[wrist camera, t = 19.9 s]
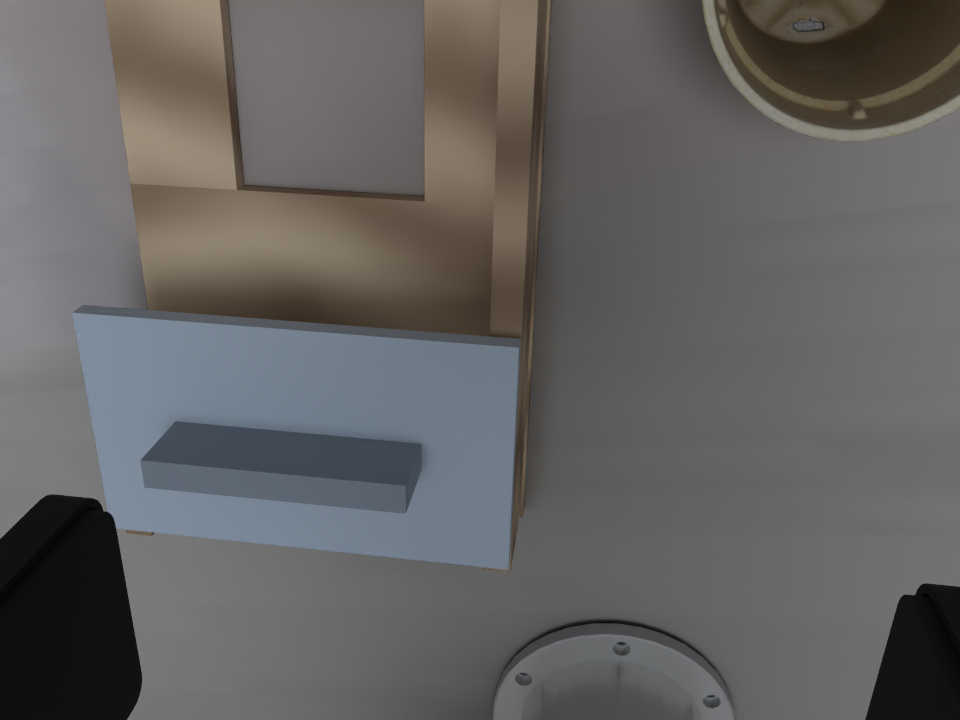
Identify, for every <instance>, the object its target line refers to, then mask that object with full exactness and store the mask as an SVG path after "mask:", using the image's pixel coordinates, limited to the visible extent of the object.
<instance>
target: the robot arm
mask: <svg viewBox="0 0 960 720" xmlns="http://www.w3.org/2000/svg"><path fill="white" fill-rule="evenodd" d="M141 686H142V672H141V667H140V661H139V655H138V650H137V644H136V638H135V633H134V627H133V622H132V616H131V610H130V605H129V599H128V593H127V588H126V582H125V576H124V571H123V565H122V559H121V554H120V548H119V542H118V537H117V531H116V525H115V521H114V518H113V516H112V515H111V513H108V512H103V508H102V506H101V504H100V503H99V502H98V500H95V499H93V498H83V497H73V496H63V495H53V494H52V495H47V496H45V497H44V498H42V499H41V500H40V501H39V502H38V503H37V504H36V505H35V506H34V507H32V508H31V509H30V510H29V511H28V512H27V513H26V514H25V515H24V516H23V517H22V518H21V519H20V520H19V521H18V522H17V523H16V524H15V525H14V526H13V527H12V528H11V529H10V530H9V531H8V532H7V533H6V534H5V535H4V536H3V537H2V538H1V539H0V720H127V718H128V717H129V715H130V714H131V712H132V710H133V709H134V707H135V705H136V703H137V701H138V698H139V695H140V691H141ZM493 720H735V717H734V710H733V705H732V702H731V699H730V696H729V693H728V690H727V687H726V686H725V684H724V683H723V681H722V679H721V678H720V676H719V675H718V673H717V672H716V671H715V669H714V668H713V667H712V666H711V665H710V664H709V663H708V662H707V661H706V660H705V659H704V658H703V657H702V656H700V655H699V654H698V653H696V652H695V651H693V650H692V649H691V648H689V647H688V646H686V645H685V644H683V643H681V642H679V641H677V640H675V639H673V638H671V637H669V636H667V635H665V634H662V633H659V632H655V631H652V630H649V629H646V628H642V627H637V626H630V625H624V624H617V623H614V624H586V625H580V626H573V627H568V628H565V629H562V630H559V631H556V632H553V633H550V634H548V635H546V636H544V637H542V638H540V639H538V640H536V641H534V642H533V643H531V644H529V645H528V646H527V647H526V648H524V649H523V650H522V651H521V652H520V653H518V654H517V655H516V656H515V657H514V658H513V660H512V661H511V662H510V663H509V665H508V666H507V667H506V669H505V670H504V672H503V674H502V676H501V678H500V680H499V683H498V685H497V689H496V694H495V699H494V705H493ZM866 720H960V587H955V586H945V585H936V584H922V585H921V586H920V587H919V588H918V589H917V592H916V594H915V595H903V596H902V597H901V598H900V600H899V603H898V606H897V609H896V613H895V616H894V620H893V623H892V627H891V630H890V634H889V638H888V641H887V645H886V648H885V652H884V655H883V659H882V663H881V666H880V670H879V673H878V677H877V680H876V684H875V687H874V691H873V695H872V698H871V702H870V705H869V709H868V712H867V716H866Z"/></svg>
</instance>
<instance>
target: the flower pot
mask: <svg viewBox="0 0 960 720" xmlns="http://www.w3.org/2000/svg"><path fill="white" fill-rule="evenodd" d="M702 8H703V14H704V20H705V25H706V29H707V33H708V36H709V40H710V43H711V46H712V48H713V51H714V53H715V55H716V57H717V59H718V61H719V63H720V66H721V67H722V69H723V71H724V72H725V74H726V76H727V77H728V79H729V81H730V82H731V83H732V85H733V86H734V87H735V88H736V90H737V91H738V92H739V93H740V94H741V95H742V96H743V97H744V98H745V99H746V100H747V101H748V102H749V103H750V104H751V105H752V106H753V107H755V108H756V109H757V110H758V111H760V112H761V113H762V114H763V115H765V116H766V117H768V118H770V119H771V120H772V121H774V122H776V123H778V124H780V125H782V126H784V127H786V128H788V129H791V130H793V131H795V132H799V133H802V134H805V135H808V136H812V137H816V138H821V139H827V140H835V141H843V142H845V141H867V140H873V139H882V138H886V137H892V136H896V135H900V134H903V133H907V132H910V131H913V130H917V129H919V128H922V127H924V126H926V125H929V124H931V123H933V122H936V121H938V120H939V119H940V118H942V117H945V116H946V115H949V114H951V113H952V112H953V111H955V110H957V109H959V108H960V0H702ZM808 19H811V20H810V21H813V22H823V23H824V29H819V30H812V31H799V30H796V29H795V28H794V26H793V25H794V24H795V23H804V22H807V21H808Z"/></svg>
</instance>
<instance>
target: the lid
mask: <svg viewBox="0 0 960 720" xmlns="http://www.w3.org/2000/svg"><path fill="white" fill-rule="evenodd" d="M72 314H73V320H74V326H75V331H76V337H77V342H78V348H79V353H80V359H81V365H82V370H83V376H84V381H85V387H86V392H87V398H88V404H89V409H90V415H91V420H92V426H93V431H94V437H95V442H96V448H97V454H98V459H99V465H100V470H101V476H102V481H103V487H104V493H105V498H106V504H107V509H108V513H111V515H112V516H113V518H114V521H115V525H116V529H126V530H135V531H145V532H154V533H164V534H173V535H183V536H192V537H202V538H211V539H220V540H230V541H239V542H249V543H258V544H268V545H277V546H287V547H296V548H306V549H315V550H325V551H334V552H344V553H353V554H363V555H372V556H382V557H391V558H401V559H410V560H419V561H429V562H438V563H448V564H457V565H467V566H476V567H486V568H495V569H505V570H508V569H509V563H510V555H511V534H512V514H513V493H514V473H515V452H516V432H517V411H518V391H519V370H520V350H521V339H515V338H503V337H490V336H477V335H464V334H451V333H438V332H425V331H412V330H399V329H386V328H373V327H360V326H347V325H335V324H322V323H309V322H296V321H283V320H270V319H257V318H244V317H231V316H218V315H205V314H192V313H179V312H167V311H154V310H141V309H128V308H115V307H102V306H89V305H82V306H81V307H80V308H78V309H77V310H75V311H74V312H72Z"/></svg>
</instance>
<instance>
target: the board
mask: <svg viewBox="0 0 960 720" xmlns="http://www.w3.org/2000/svg"><path fill="white" fill-rule="evenodd" d="M551 4H552V0H424V88H425V196H412V195H395V194H379V193H362V192H346V191H329V190H313V189H297V188H280V187H264V186H247V185H244V182H243V170H242V159H241V147H240V136H239V124H238V113H237V101H236V90H235V78H234V67H233V55H232V44H231V32H230V21H229V9H228V0H105V6H106V13H107V20H108V27H109V35H110V42H111V49H112V56H113V63H114V70H115V77H116V84H117V91H118V99H119V106H120V113H121V120H122V127H123V134H124V141H125V148H126V155H127V162H128V170H129V177H130V184H131V191H132V198H133V205H134V212H135V219H136V226H137V234H138V241H139V248H140V255H141V262H142V269H143V276H144V283H145V290H146V297H147V305H148V310H154V311H167V312H179V313H192V314H205V315H218V316H231V317H244V318H257V319H270V320H283V321H296V322H309V323H322V324H335V325H347V326H360V327H373V328H386V329H399V330H412V331H425V332H438V333H451V334H464V335H477V336H490V337H503V338H515V339H521V350H520V370H519V391H518V411H517V432H516V452H515V473H514V493H513V514H512V534H511V555H510V563H509V569H508V570H505V569H495V568H486V567H482V569H488V570H497V571H507V572H510V570H511V564H512V558H513V552H514V546H515V540H516V533H517V527H518V521H519V517H522V516H523V510H524V496H525V477H526V459H527V441H528V423H529V405H530V386H531V368H532V350H533V332H534V314H535V295H536V277H537V259H538V241H539V223H540V204H541V186H542V168H543V150H544V131H545V113H546V95H547V77H548V59H549V40H550V22H551ZM126 532H127V533H130V534H140V535H149V536H152V535H153V534H154V532H145V531H135V530H126Z"/></svg>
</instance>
